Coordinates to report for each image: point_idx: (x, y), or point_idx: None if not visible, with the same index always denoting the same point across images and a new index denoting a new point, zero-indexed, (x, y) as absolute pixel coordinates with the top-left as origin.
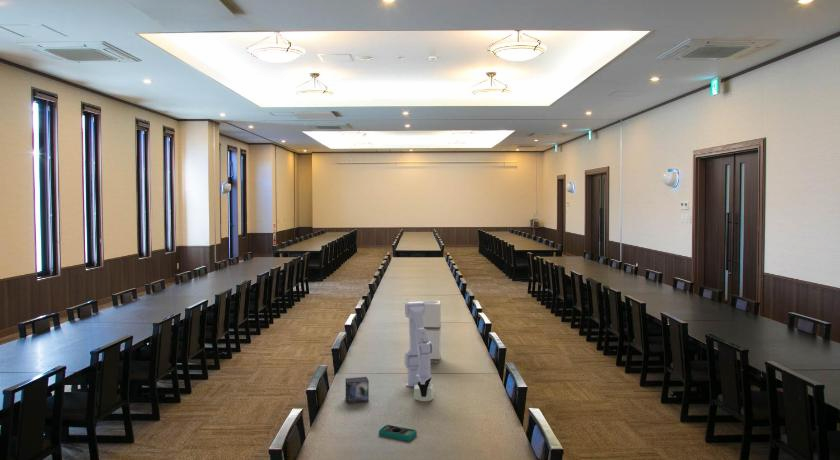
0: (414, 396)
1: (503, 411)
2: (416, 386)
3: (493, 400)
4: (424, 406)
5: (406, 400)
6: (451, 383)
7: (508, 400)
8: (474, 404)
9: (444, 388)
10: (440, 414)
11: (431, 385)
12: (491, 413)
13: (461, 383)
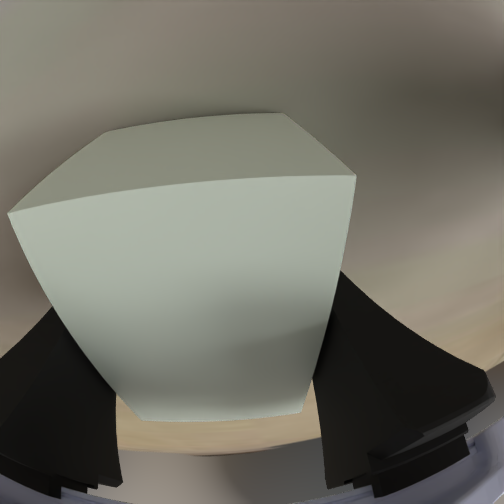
0: (87, 148)
1: (164, 449)
2: (172, 234)
3: (254, 441)
4: (16, 274)
5: (67, 38)
6: (487, 316)
7: (260, 450)
8: (192, 427)
9: (442, 313)
10: (3, 351)
11: (269, 411)
12: (132, 439)
13: (466, 346)
